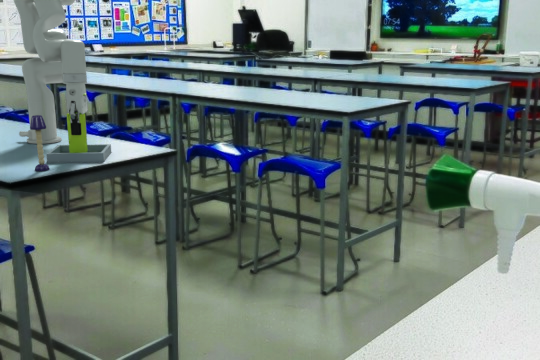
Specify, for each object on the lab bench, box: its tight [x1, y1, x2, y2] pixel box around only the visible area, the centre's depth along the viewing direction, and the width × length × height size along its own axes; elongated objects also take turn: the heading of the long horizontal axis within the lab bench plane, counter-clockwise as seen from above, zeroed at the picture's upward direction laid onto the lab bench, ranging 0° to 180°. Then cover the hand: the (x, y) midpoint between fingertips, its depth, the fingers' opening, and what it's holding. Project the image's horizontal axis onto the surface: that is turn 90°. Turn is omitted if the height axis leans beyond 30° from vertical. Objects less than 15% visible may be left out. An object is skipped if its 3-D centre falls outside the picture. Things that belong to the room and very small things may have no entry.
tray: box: [45, 143, 112, 164], centre depth 202 cm, size 18×16×3 cm
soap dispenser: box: [66, 93, 88, 153], centre depth 200 cm, size 6×7×20 cm
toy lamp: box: [29, 115, 50, 172], centre depth 183 cm, size 5×5×17 cm
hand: (78, 132), depth 201 cm, fingers closed on soap dispenser, 5 cm apart
